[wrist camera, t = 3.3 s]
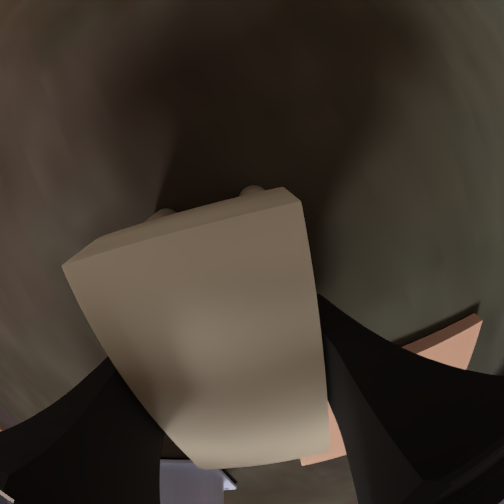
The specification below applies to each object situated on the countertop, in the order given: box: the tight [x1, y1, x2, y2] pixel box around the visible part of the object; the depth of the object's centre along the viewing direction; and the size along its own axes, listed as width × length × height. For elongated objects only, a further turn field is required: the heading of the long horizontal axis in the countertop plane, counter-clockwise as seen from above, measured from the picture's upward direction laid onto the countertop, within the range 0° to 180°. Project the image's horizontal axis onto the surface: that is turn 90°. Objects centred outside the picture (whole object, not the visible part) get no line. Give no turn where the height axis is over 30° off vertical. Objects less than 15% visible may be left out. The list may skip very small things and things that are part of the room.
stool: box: [61, 185, 330, 469], centre depth 9 cm, size 9×5×6 cm, turn 13°
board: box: [300, 313, 483, 466], centre depth 15 cm, size 14×11×1 cm
